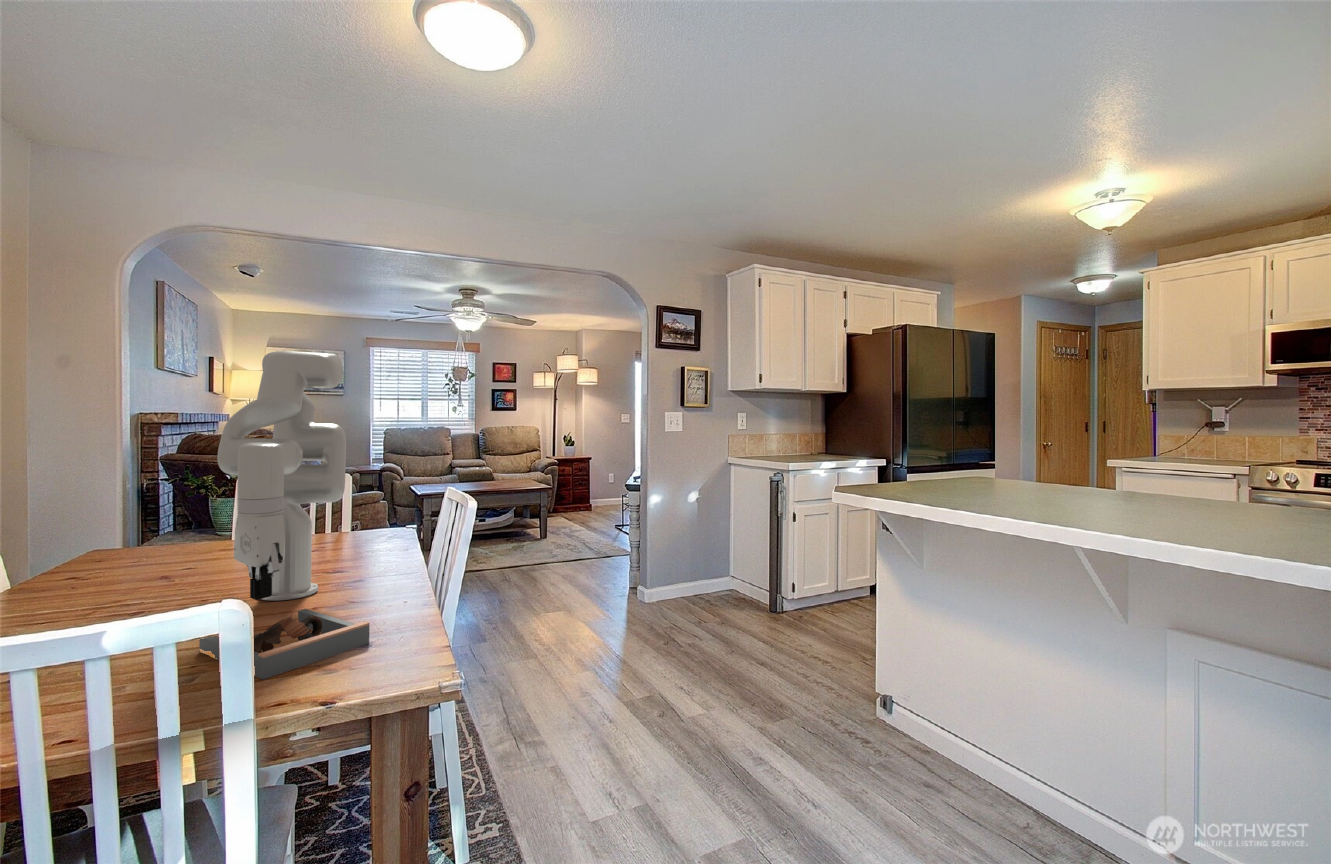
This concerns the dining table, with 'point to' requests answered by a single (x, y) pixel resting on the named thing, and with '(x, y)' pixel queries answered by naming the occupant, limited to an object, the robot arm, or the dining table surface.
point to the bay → (304, 645)
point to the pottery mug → (291, 628)
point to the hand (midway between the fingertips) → (261, 597)
